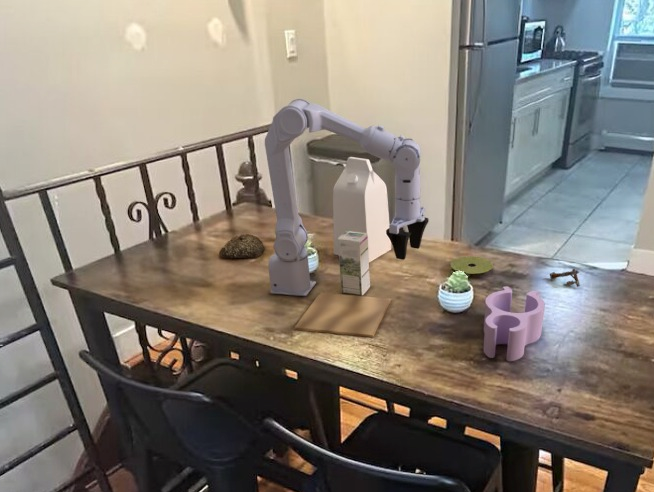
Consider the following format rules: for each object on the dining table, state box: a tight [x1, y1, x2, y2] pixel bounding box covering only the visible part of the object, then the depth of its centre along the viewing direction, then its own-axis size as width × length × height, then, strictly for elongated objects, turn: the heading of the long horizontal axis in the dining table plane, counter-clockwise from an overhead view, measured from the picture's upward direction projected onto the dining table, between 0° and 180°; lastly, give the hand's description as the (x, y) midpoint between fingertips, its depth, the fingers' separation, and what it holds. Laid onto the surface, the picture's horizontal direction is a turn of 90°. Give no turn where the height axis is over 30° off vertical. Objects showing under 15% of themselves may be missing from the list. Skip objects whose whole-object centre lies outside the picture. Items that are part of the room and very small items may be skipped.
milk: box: [332, 156, 392, 263], centre depth 164 cm, size 12×12×26 cm
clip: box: [483, 285, 546, 362], centre depth 127 cm, size 20×12×7 cm, turn 160°
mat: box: [450, 256, 494, 275], centre depth 158 cm, size 11×11×2 cm
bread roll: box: [218, 233, 265, 259], centre depth 171 cm, size 13×12×5 cm
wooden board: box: [293, 292, 392, 338], centre depth 139 cm, size 18×18×1 cm
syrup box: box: [338, 231, 371, 296], centre depth 146 cm, size 6×6×14 cm
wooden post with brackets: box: [549, 268, 581, 288], centre depth 151 cm, size 2×8×4 cm, turn 44°
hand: (408, 253), depth 143 cm, fingers open, 7 cm apart
